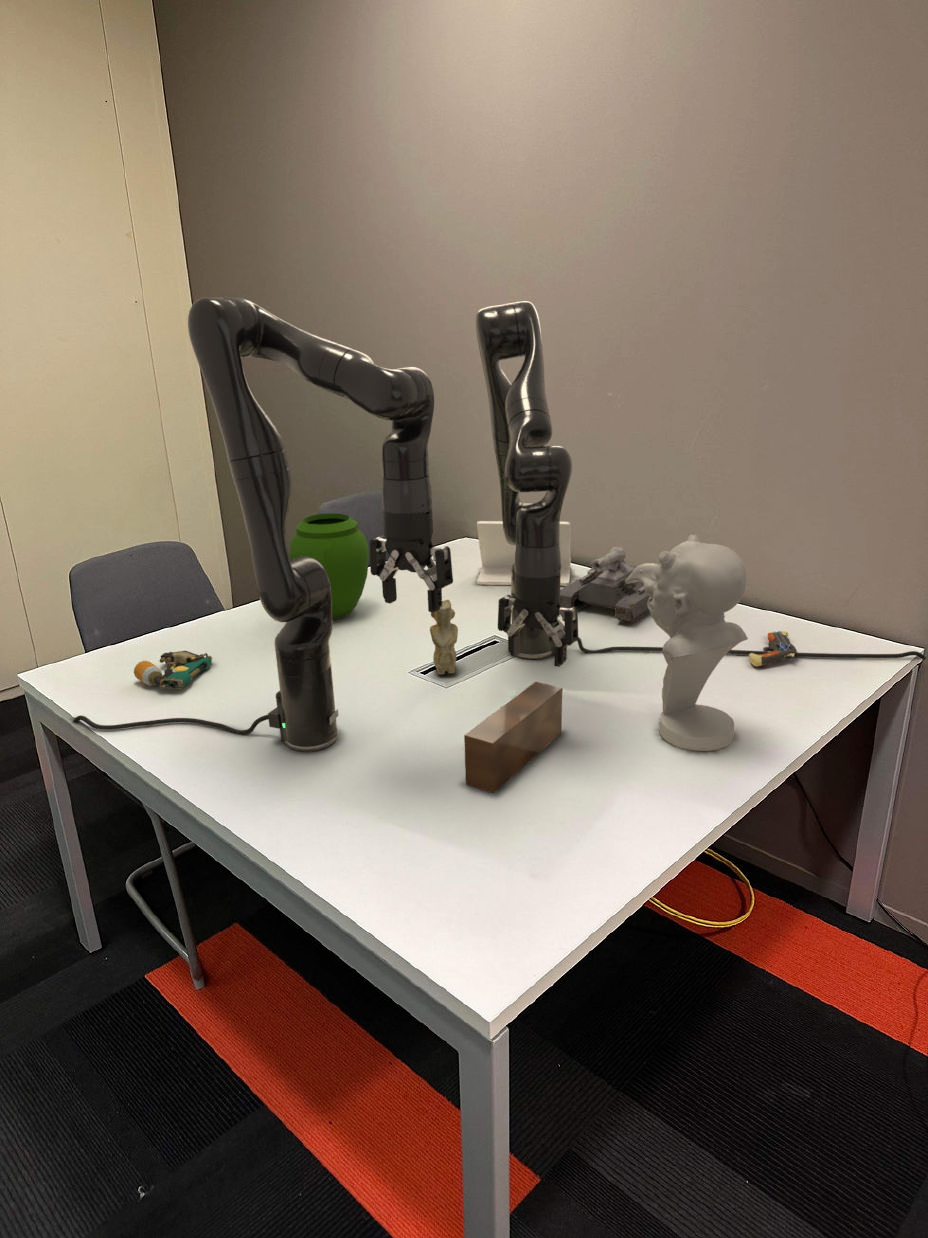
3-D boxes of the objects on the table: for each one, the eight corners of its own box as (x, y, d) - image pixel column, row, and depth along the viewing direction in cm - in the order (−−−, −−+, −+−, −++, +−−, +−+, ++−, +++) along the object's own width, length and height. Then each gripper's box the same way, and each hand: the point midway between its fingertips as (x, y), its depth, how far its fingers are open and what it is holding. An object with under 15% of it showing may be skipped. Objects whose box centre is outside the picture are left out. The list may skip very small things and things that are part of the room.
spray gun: (177, 659, 191) (231, 671, 185) (120, 684, 176) (176, 698, 171) (176, 641, 190) (230, 653, 184) (118, 665, 175) (174, 678, 169)
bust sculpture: (666, 688, 168) (677, 514, 156) (759, 738, 148) (779, 544, 136) (600, 707, 161) (606, 527, 149) (688, 763, 141) (703, 560, 129)
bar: (535, 725, 156) (535, 681, 152) (561, 733, 153) (562, 687, 150) (465, 784, 138) (464, 735, 134) (493, 793, 135) (492, 743, 132)
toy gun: (751, 657, 175) (803, 654, 173) (740, 630, 193) (787, 626, 191) (752, 670, 176) (803, 667, 174) (741, 641, 194) (787, 638, 192)
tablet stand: (569, 585, 229) (570, 524, 223) (476, 584, 232) (475, 523, 226) (570, 566, 246) (571, 508, 240) (484, 564, 249) (483, 507, 243)
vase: (389, 608, 216) (383, 514, 208) (339, 633, 201) (330, 533, 192) (330, 596, 226) (322, 506, 218) (278, 619, 211) (267, 523, 202)
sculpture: (458, 662, 183) (456, 596, 178) (460, 676, 176) (457, 608, 171) (431, 663, 183) (428, 597, 177) (431, 677, 176) (428, 609, 171)
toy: (603, 584, 229) (605, 530, 224) (673, 597, 218) (677, 540, 213) (555, 612, 210) (556, 553, 205) (630, 627, 199) (633, 566, 194)
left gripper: (354, 505, 130) (362, 606, 135) (431, 516, 122) (435, 621, 128) (385, 496, 135) (391, 592, 141) (460, 505, 128) (463, 606, 134)
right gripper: (488, 568, 141) (490, 659, 147) (565, 581, 133) (564, 676, 139) (512, 557, 147) (512, 645, 152) (587, 569, 139) (584, 661, 145)
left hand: (412, 606), depth 135 cm, fingers open, 8 cm apart
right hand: (537, 660), depth 146 cm, fingers open, 8 cm apart
